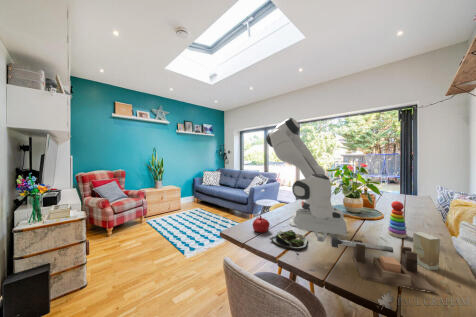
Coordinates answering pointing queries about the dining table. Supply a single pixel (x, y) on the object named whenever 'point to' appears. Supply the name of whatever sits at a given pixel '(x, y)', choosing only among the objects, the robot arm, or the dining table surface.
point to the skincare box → (426, 250)
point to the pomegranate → (260, 225)
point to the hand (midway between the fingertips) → (320, 241)
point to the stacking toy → (397, 221)
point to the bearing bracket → (375, 272)
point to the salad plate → (290, 240)
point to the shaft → (336, 241)
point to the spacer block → (390, 264)
